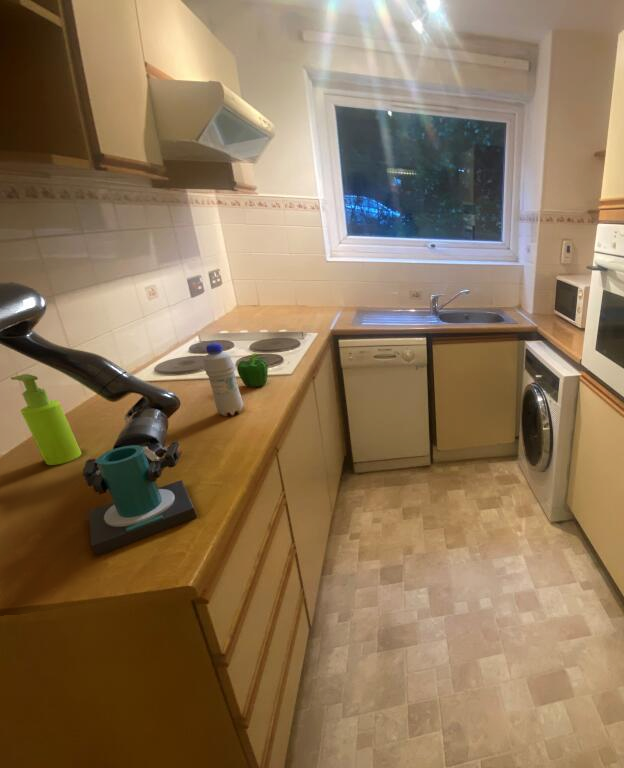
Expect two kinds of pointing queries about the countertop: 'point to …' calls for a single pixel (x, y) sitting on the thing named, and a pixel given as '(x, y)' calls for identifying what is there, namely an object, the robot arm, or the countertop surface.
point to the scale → (139, 520)
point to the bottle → (222, 380)
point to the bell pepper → (253, 371)
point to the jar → (129, 480)
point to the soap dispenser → (48, 424)
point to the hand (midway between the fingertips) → (126, 483)
